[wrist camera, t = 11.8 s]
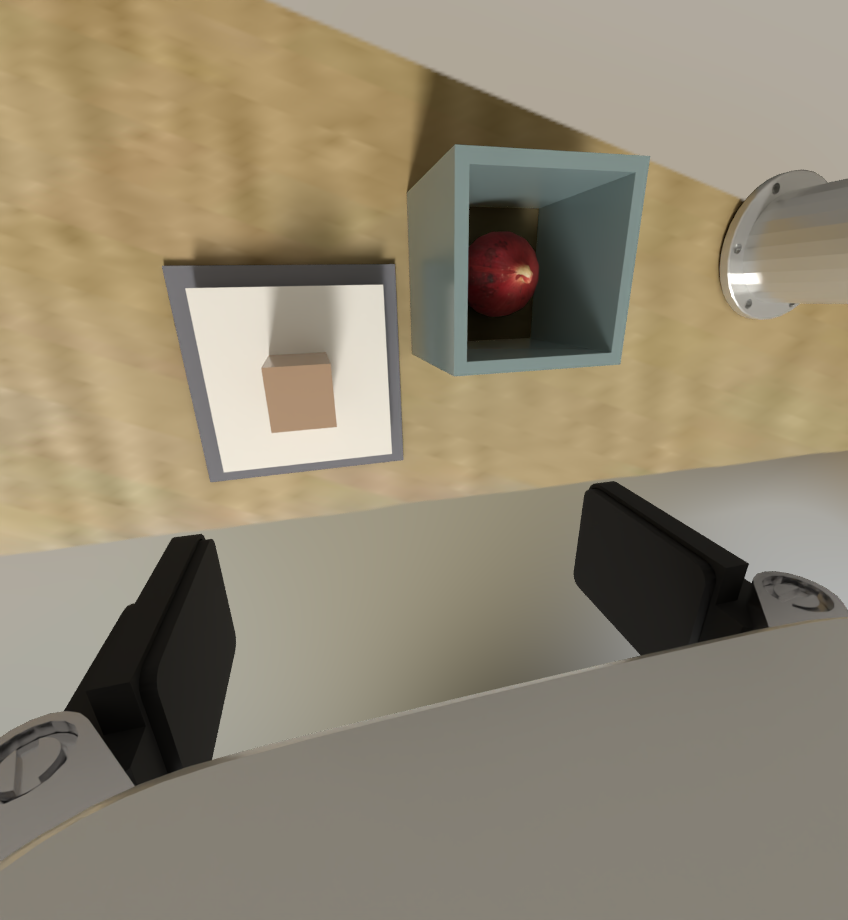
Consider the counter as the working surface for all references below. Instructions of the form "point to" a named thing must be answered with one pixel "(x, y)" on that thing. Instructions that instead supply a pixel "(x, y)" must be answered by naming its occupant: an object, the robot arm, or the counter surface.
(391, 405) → the mat
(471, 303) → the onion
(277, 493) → the counter surface
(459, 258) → the teal storage bin
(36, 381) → the counter surface
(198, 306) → the lid
